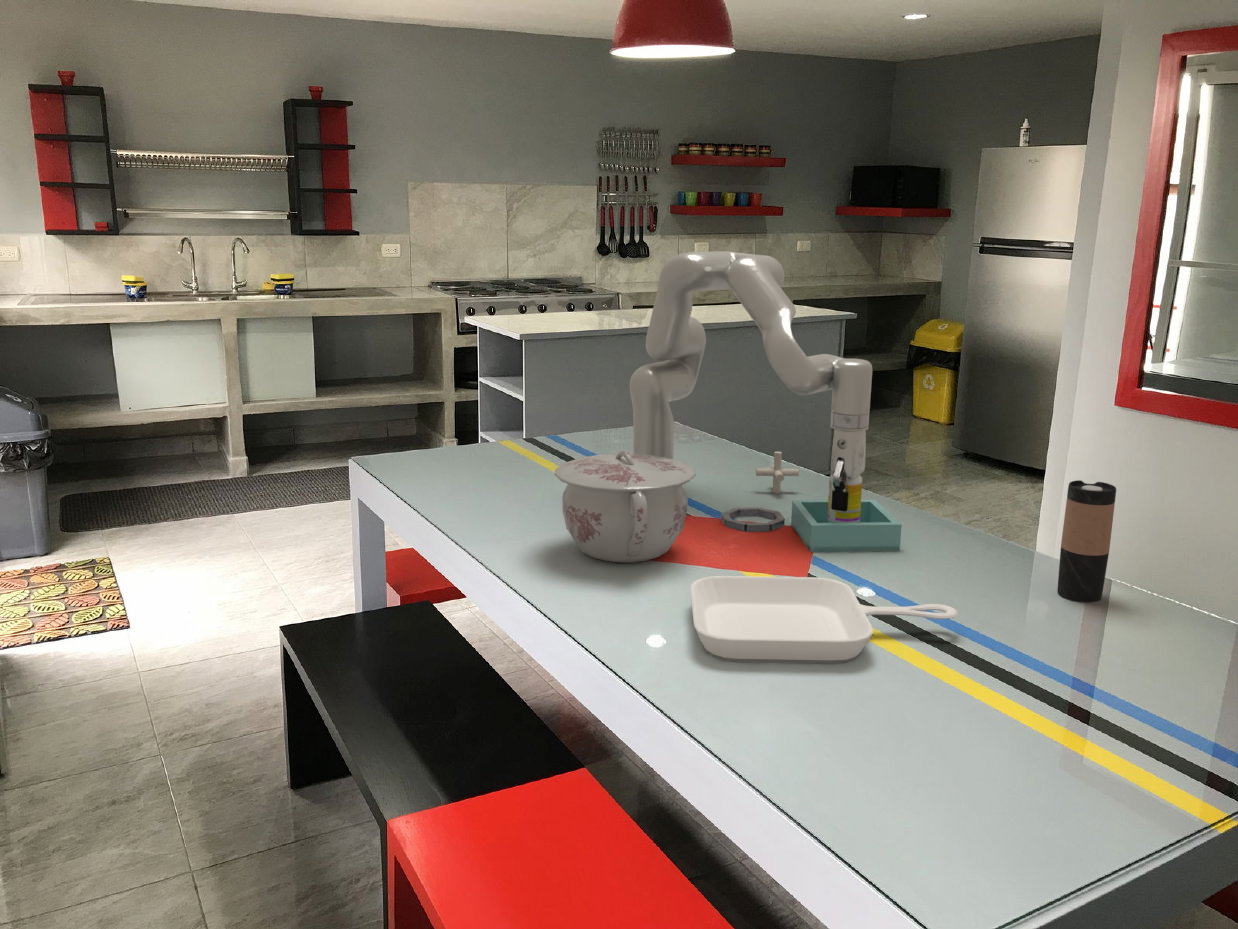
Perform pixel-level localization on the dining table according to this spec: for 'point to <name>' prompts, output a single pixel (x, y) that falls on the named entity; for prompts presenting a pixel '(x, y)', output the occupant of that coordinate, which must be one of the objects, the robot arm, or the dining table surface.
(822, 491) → the dining table surface
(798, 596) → the pan
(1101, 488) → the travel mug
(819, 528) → the bin
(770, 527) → the collar
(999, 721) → the dining table surface
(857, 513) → the supplement bottle
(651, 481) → the chamber pot
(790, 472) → the pipe connector
